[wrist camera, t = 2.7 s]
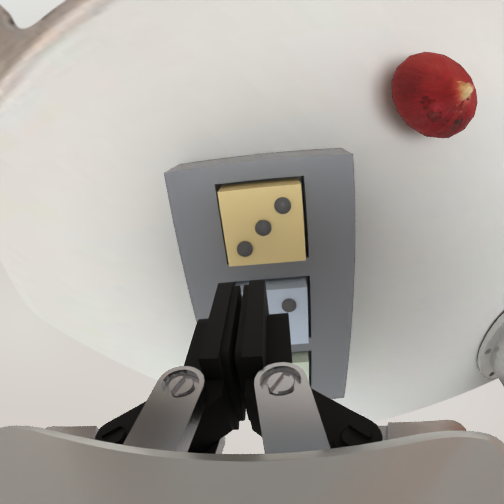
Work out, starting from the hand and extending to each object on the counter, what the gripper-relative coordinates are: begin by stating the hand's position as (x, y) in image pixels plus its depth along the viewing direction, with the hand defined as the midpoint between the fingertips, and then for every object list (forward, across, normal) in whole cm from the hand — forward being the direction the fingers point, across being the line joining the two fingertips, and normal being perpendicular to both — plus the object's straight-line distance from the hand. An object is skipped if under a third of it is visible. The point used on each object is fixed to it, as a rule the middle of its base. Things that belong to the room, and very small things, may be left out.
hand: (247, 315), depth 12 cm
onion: (+14, -13, -8) cm, 20 cm away
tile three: (+11, 0, 0) cm, 11 cm away
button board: (+13, 0, +7) cm, 15 cm away
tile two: (+11, 0, +7) cm, 13 cm away
